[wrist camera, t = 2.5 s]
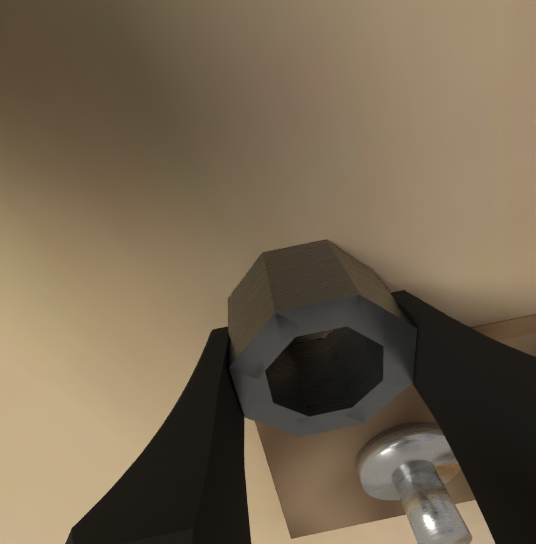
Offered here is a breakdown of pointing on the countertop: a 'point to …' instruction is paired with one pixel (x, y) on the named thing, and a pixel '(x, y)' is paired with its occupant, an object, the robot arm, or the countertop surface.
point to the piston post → (415, 479)
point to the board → (344, 448)
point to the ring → (316, 341)
